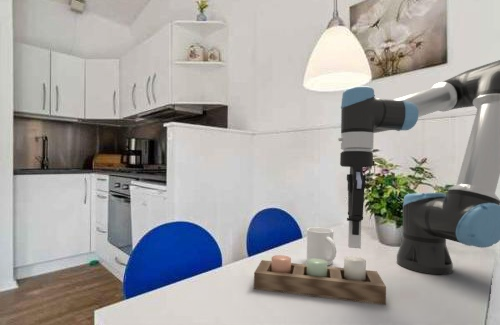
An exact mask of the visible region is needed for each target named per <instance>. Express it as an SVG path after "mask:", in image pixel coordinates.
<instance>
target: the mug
mask: <svg viewBox="0 0 500 325" xmlns="http://www.w3.org/2000/svg"><path fill="white" fill-rule="evenodd" d="M306 231H307V232H306V261H307V260H308V259H311V258H317V259H323V260H325V261H327V266H330V265H332V264H333V263H334V260H335V258H336V256H337V247H336V244H335V242H334V230H333V229H331V228H328V227H318V226H315V227H314V226H313V227H308V228H307V229H306Z"/></svg>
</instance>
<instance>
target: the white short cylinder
mask: <svg viewBox="0 0 500 325" xmlns="http://www.w3.org/2000/svg"><path fill="white" fill-rule="evenodd" d="M343 268H344V277H345V278H346V279H348V280H355V281H365V280H366V270H367V260H366V259H365V258H363V257H360V256H353V255H348V256H344V257H343Z"/></svg>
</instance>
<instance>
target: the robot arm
mask: <svg viewBox="0 0 500 325" xmlns="http://www.w3.org/2000/svg"><path fill="white" fill-rule="evenodd" d="M375 96H376V95H375V90H374V88H372V87H370V86H368V85H367V86H366V85H358V86H352V87H351V86H350V87H349V88H347V89H345V90H344V91H343V92H342V97H341V105H340V110H341V112H340V113H341V116H340V121H341V122H340V123H341V124H340V137H338V139H337V140H338V142H340V149H341V150H343V151H341V152H340V154H339V155H340V158H339V165H340V166H341V167H343V168H344V167H345V168H349V173H347V174H346V181H347V215H348V217H347V218H346V221H348V234H347V235H348V236H347V237H348V240H347V241H348V242H347V243H348V244H347V245H348V248H350V249H361V248H362V247H361V245H362V221H363V219H364V203H365V190H366V184H367V182H366V179H367V178H366V174H364V169H363V168H372V167H373V165H374V164H373V163H374V160H373V159H374V153H373V152H372V151H373V149H374V136H375V135H374V134H375V133H381V132H383V133H384V132H388V131H397V132H400V131H409V130H411V129H413V128H414V127H415V126H416V124H417V122H418V120H419V118H420V117H422V116H426V115H430V114H431V113H435V112H442V113H444V112H449V111H452V110H457V109H463V108H470V107H471V108H472V107H474V108H476V114H475V116H474V119H473V124H472V127H471V131H470V134H469V138H468V141H467V144H466V148H465V151H464V156H463V159H462V162H461V166H460V170H459V174H458V176H457V181H456V184H455V185H454V186H453V187H450V188H448V190H447V193H445V192H417V193H416V192H415V193H407V194H406V195H404V197H403V204H402V241H401V243H400V245H399V249H398V251H397V253H396V264H398V265H399V266H401V267H403V268H406V269H409V270H411V271H414V272H420V273H425V274H430V275H431V274H432V275H448V274H452V273H453V268H454V267H453V266H454V263H453V260H452V257H451V255H450V252H449V249H448V247H447V240H449V241H452V242H456V243H460V244H462V245H464V246H467V247H468V246H469V247H476V248H490V247H492V246H493V245H496V244H497V243H499V242H500V198H499V197H498V196H497V194H496V191H497V187H498V183H499V179H500V59H498V60H497V61H496V60H495V61H492V62H489V63H486V64H483V65H480V66H477V67H474V68H471V69H469V70H465V71H463V72H461V73H458V74H457V75H454V76H452V77H450V78H448V79H445V80H443V81H440V82H438V83H435V84H434V85H433V86H432V87H431V88H428V89H423V90H420V91H417V92H415V93H411V94H407V95H404V96H402V97H397V98H394V99H388V98H387V99H386V98H379V97H375Z"/></svg>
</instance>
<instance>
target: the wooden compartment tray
mask: <svg viewBox="0 0 500 325" xmlns="http://www.w3.org/2000/svg"><path fill="white" fill-rule="evenodd" d="M271 262H272V260H264V259H263V260H261V261H260V263H259V264H258V265H257V267H256V269H255V271H254V272H253V276H254V277H253V289H254V290H259V291H265V292H267V291H268V292H275V293H276V292H277V293H284V294H291V295H293V294H294V295H299V296H302V295H303V296H311V297H318V298H326V299H332V300H333V299H334V300H343V301H349V302H360V303H367V304H376V305H383V306H384V305H385V306H386V305H387V286H386V284H385V282H384V280H382V278H381V276H380V274H379V273H378V270H367V269H366V280H365V281H355V280H348V279H346V278H345V277H344V267H337V266H336V267H335V266H327V278H326V277H317V276H307V263H305V264H304V263H297V262H296V263H294V262H291V274H288V273H279V272H271Z"/></svg>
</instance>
